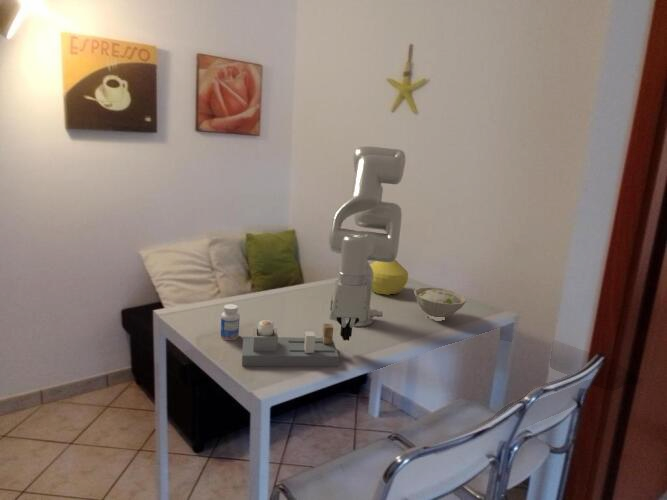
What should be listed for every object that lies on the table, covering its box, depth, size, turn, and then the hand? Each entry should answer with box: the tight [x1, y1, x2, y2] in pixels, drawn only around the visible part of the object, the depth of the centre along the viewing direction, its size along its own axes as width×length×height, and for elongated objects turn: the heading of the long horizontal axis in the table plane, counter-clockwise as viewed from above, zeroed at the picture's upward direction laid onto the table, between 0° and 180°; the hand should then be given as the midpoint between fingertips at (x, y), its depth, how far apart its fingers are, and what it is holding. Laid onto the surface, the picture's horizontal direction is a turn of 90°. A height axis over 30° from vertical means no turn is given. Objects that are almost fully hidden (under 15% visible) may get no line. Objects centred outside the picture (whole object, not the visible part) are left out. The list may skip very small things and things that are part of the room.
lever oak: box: [321, 323, 334, 344], centre depth 137 cm, size 2×3×5 cm
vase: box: [369, 259, 409, 296], centre depth 198 cm, size 18×18×19 cm
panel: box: [241, 327, 340, 367], centre depth 132 cm, size 26×12×7 cm, turn 100°
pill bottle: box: [220, 303, 241, 341], centre depth 141 cm, size 6×5×10 cm
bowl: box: [413, 286, 468, 318], centre depth 174 cm, size 19×19×10 cm
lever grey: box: [304, 331, 316, 353], centre depth 130 cm, size 2×3×5 cm
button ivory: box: [258, 319, 274, 336], centre depth 130 cm, size 4×4×4 cm
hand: (345, 338), depth 138 cm, fingers closed
